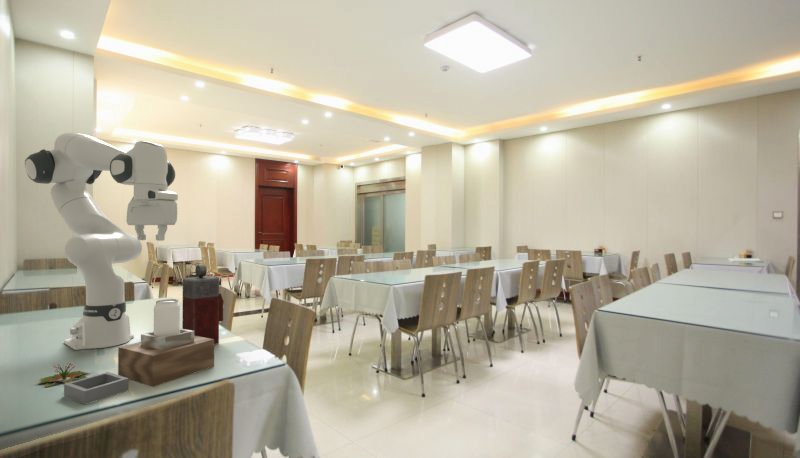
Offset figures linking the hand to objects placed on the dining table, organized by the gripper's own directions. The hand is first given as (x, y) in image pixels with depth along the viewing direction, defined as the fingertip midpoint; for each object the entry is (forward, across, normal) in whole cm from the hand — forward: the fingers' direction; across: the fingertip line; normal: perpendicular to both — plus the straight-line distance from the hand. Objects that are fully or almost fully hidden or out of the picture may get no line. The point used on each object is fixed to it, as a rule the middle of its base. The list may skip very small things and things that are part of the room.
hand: (150, 240), depth 124 cm
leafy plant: (+38, -7, -19) cm, 43 cm away
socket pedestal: (+37, +12, -2) cm, 39 cm away
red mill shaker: (+37, -5, +22) cm, 44 cm away
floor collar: (+37, +12, -20) cm, 44 cm away
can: (+29, +11, -2) cm, 32 cm away
